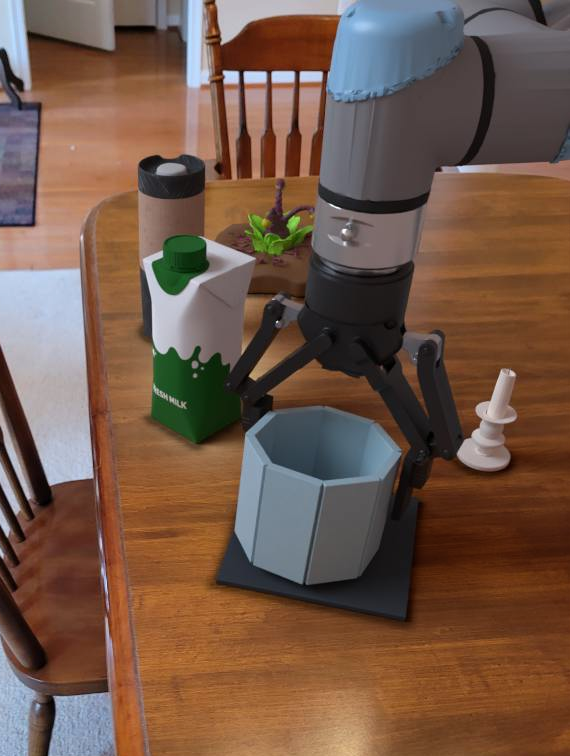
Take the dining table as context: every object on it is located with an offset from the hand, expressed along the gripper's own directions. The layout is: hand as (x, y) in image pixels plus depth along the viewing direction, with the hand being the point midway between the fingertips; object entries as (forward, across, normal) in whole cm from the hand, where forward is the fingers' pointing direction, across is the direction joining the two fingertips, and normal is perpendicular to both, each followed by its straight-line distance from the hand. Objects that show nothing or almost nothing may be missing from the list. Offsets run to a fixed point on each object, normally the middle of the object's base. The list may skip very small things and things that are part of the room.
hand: (326, 486), depth 74 cm
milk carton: (+5, -19, +10) cm, 21 cm away
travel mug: (+5, -31, +25) cm, 40 cm away
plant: (+5, -28, +48) cm, 56 cm away
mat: (+5, +1, -2) cm, 5 cm away
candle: (+5, +10, +18) cm, 21 cm away
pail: (-1, 0, -3) cm, 3 cm away
